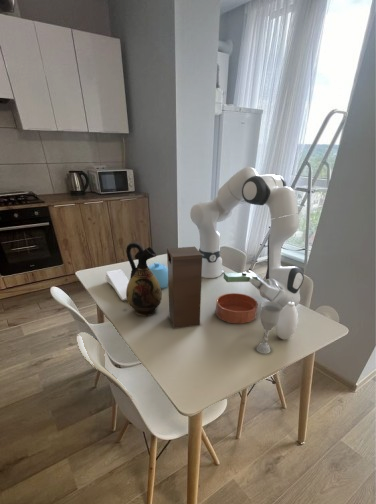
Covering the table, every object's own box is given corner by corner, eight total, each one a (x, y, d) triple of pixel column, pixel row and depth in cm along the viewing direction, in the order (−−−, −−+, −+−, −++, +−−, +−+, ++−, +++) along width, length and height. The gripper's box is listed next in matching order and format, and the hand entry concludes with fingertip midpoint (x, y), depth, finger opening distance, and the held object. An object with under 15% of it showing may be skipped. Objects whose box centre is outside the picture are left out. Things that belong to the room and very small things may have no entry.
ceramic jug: (166, 304, 134) (164, 239, 117) (156, 321, 122) (152, 251, 105) (132, 300, 137) (125, 236, 121) (119, 316, 125) (109, 247, 108)
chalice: (249, 349, 106) (256, 306, 96) (259, 341, 110) (267, 299, 100) (267, 357, 102) (276, 313, 92) (276, 349, 106) (286, 306, 96)
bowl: (210, 307, 133) (211, 295, 129) (245, 303, 136) (247, 291, 133) (223, 326, 118) (225, 314, 115) (262, 321, 122) (264, 309, 119)
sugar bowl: (177, 285, 152) (177, 264, 145) (152, 292, 145) (150, 270, 138) (163, 276, 162) (162, 256, 156) (139, 282, 155) (137, 261, 149)
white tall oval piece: (291, 346, 108) (302, 303, 98) (270, 340, 111) (279, 298, 101) (295, 335, 113) (306, 294, 103) (275, 330, 116) (284, 289, 106)
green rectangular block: (223, 278, 119) (224, 271, 117) (251, 277, 122) (253, 270, 120) (227, 282, 115) (228, 274, 114) (256, 281, 118) (257, 274, 117)
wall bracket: (139, 308, 142) (121, 281, 160) (142, 295, 138) (123, 269, 157) (120, 308, 137) (103, 280, 155) (122, 295, 133) (105, 268, 151)
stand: (169, 316, 125) (166, 248, 109) (193, 313, 128) (194, 246, 111) (173, 328, 117) (172, 256, 101) (199, 324, 120) (202, 254, 103)
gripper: (263, 274, 132) (240, 261, 126) (286, 292, 115) (261, 278, 109) (255, 285, 134) (232, 273, 128) (276, 305, 118) (252, 292, 111)
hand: (246, 276), depth 118 cm, fingers closed on green rectangular block, 4 cm apart
